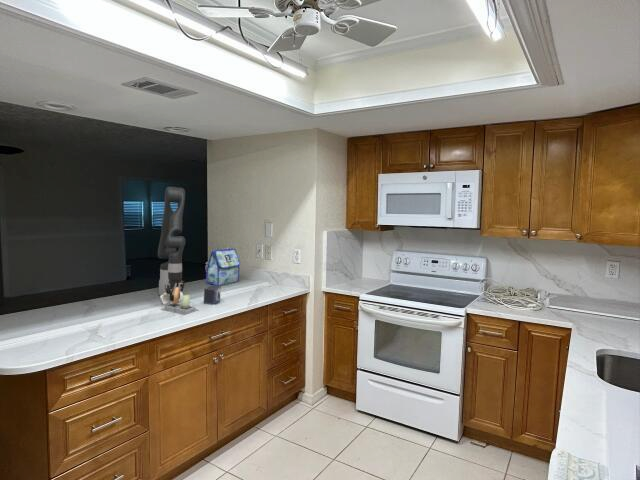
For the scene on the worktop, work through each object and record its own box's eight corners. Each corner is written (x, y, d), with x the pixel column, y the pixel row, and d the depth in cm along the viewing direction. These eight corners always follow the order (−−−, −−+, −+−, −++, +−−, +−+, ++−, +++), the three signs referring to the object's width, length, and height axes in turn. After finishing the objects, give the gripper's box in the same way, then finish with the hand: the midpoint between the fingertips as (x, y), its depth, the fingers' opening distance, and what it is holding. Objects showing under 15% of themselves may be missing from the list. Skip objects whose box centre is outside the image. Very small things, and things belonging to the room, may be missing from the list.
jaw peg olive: (180, 311, 227) (180, 295, 226) (185, 309, 230) (185, 294, 229) (185, 312, 225) (186, 296, 224) (190, 310, 229) (191, 295, 228)
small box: (213, 306, 243) (213, 289, 242) (203, 305, 244) (203, 288, 243) (220, 302, 253) (221, 286, 252) (211, 301, 254) (211, 285, 253)
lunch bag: (219, 287, 293) (220, 251, 290) (204, 283, 302) (205, 249, 299) (241, 282, 311) (242, 249, 309) (226, 279, 320) (227, 246, 318)
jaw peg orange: (169, 302, 230) (169, 287, 229) (174, 300, 233) (175, 285, 232) (174, 303, 228) (175, 287, 227) (180, 302, 232) (180, 286, 231)
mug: (183, 303, 247) (183, 290, 246) (172, 306, 238) (172, 293, 237) (167, 300, 251) (167, 287, 250) (155, 303, 242) (156, 291, 241)
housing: (160, 311, 228) (160, 306, 227) (175, 306, 239) (175, 301, 238) (184, 316, 220) (184, 311, 220) (199, 311, 231) (199, 306, 231)
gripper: (179, 268, 237) (178, 296, 238) (160, 271, 224) (160, 301, 226) (189, 269, 234) (188, 298, 235) (170, 273, 221) (170, 303, 222)
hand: (174, 300), depth 230 cm, fingers closed on jaw peg orange, 4 cm apart
